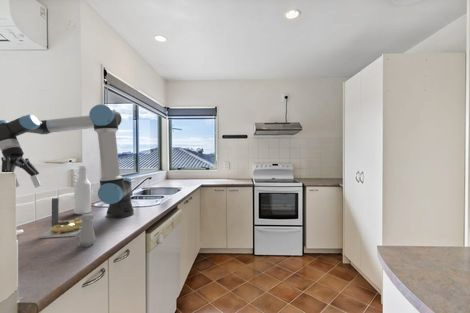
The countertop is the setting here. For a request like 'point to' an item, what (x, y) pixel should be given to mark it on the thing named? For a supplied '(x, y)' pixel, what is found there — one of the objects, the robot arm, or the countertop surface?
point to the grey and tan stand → (62, 225)
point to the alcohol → (82, 192)
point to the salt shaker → (86, 231)
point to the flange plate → (60, 234)
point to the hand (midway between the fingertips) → (28, 186)
